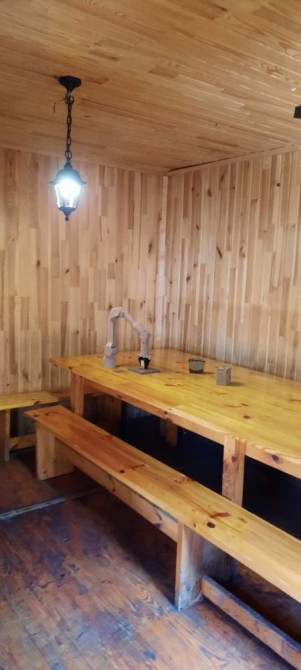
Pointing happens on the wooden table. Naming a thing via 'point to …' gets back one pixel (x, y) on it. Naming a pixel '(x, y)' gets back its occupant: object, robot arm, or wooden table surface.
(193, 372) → the food container
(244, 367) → the wooden table surface
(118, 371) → the square grey metal plate
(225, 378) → the light bulb box
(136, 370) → the hole plate
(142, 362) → the peg
